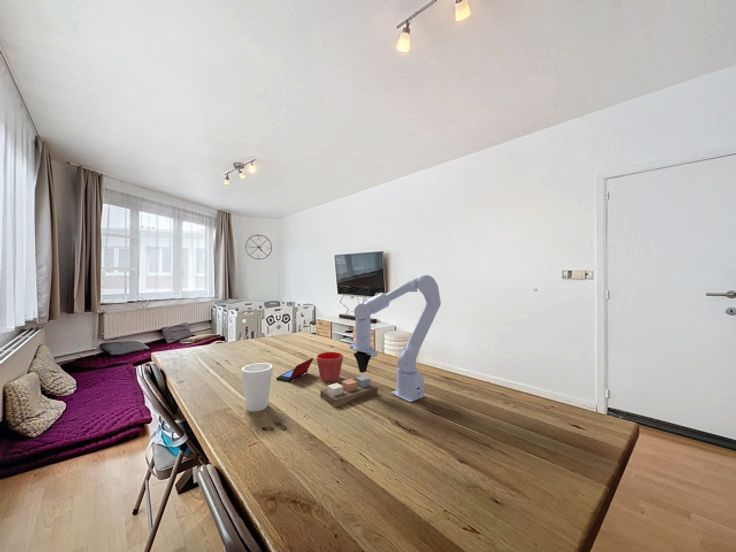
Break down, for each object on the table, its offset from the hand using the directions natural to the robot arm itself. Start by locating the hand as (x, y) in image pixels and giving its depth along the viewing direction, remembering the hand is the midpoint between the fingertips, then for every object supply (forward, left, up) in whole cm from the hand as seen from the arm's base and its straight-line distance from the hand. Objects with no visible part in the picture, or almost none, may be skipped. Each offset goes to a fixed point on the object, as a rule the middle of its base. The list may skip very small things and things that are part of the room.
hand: (362, 371), depth 106 cm
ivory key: (0, +12, -5) cm, 13 cm away
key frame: (0, +6, -7) cm, 9 cm away
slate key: (0, 0, -5) cm, 5 cm away
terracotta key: (0, +6, -5) cm, 8 cm away
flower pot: (+19, +3, -8) cm, 21 cm away
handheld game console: (+29, +14, -8) cm, 33 cm away
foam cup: (+11, +35, -8) cm, 37 cm away
